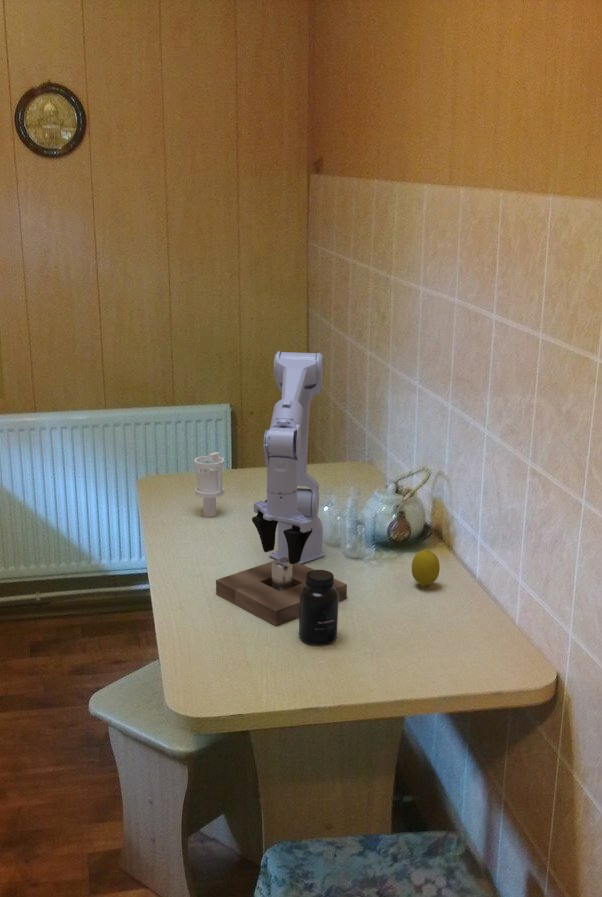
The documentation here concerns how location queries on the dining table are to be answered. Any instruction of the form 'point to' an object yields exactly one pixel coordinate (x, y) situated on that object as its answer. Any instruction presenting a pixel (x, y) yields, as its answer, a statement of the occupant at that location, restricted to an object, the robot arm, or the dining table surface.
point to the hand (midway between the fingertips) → (281, 556)
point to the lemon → (425, 567)
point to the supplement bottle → (318, 608)
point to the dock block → (268, 592)
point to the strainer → (209, 481)
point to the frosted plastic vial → (281, 574)
